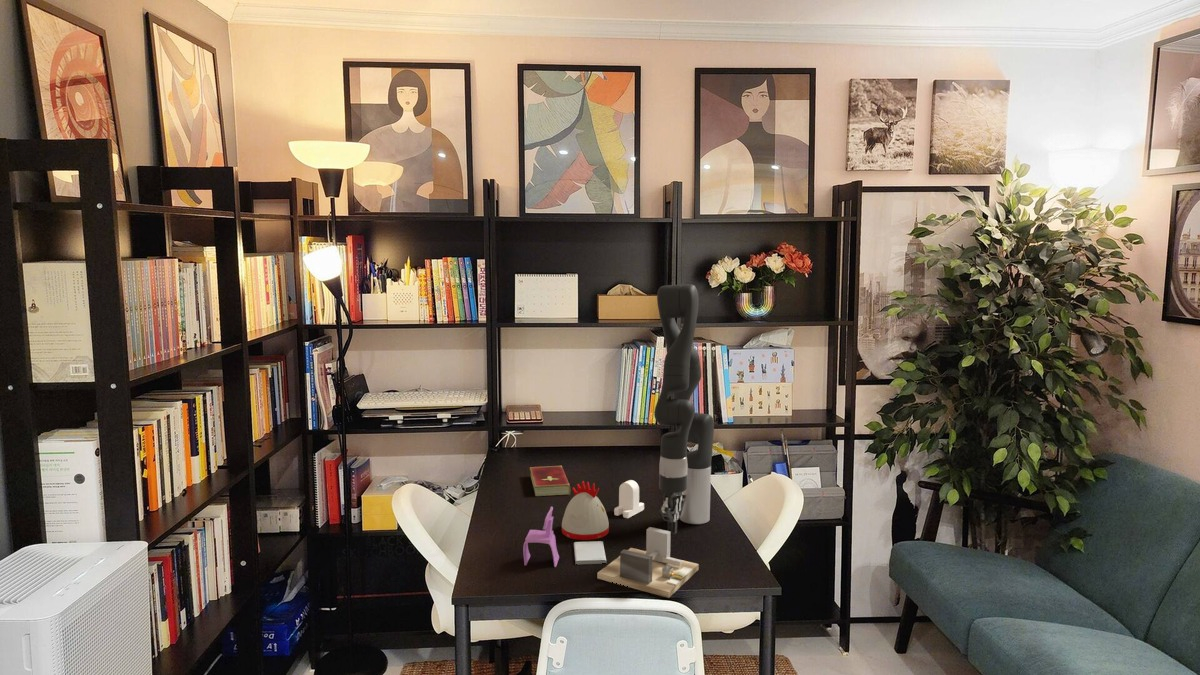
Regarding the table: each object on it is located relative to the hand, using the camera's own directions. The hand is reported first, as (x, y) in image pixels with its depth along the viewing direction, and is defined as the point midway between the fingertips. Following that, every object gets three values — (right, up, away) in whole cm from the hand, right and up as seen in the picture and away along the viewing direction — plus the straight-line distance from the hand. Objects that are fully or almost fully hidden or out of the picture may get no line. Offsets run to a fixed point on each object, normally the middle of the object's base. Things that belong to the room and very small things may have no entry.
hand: (672, 533), depth 205 cm
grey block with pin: (-1, -7, -17) cm, 18 cm away
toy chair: (-35, -7, -4) cm, 36 cm away
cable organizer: (-10, -2, +32) cm, 34 cm away
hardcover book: (-37, +1, +57) cm, 68 cm away
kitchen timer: (-24, -4, +17) cm, 30 cm away
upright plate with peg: (-4, -6, -10) cm, 12 cm away
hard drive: (-22, -7, +1) cm, 23 cm away
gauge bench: (-7, -8, -11) cm, 15 cm away
